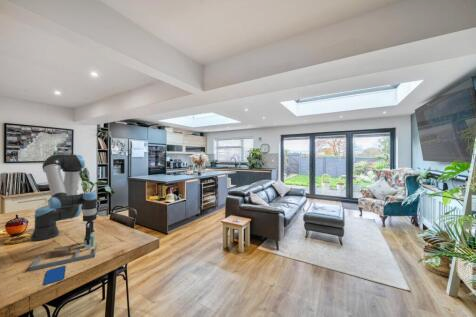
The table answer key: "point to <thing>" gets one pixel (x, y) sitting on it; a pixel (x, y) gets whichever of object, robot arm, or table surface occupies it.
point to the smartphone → (54, 275)
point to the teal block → (91, 240)
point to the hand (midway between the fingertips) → (89, 245)
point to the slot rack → (76, 258)
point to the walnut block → (60, 251)
